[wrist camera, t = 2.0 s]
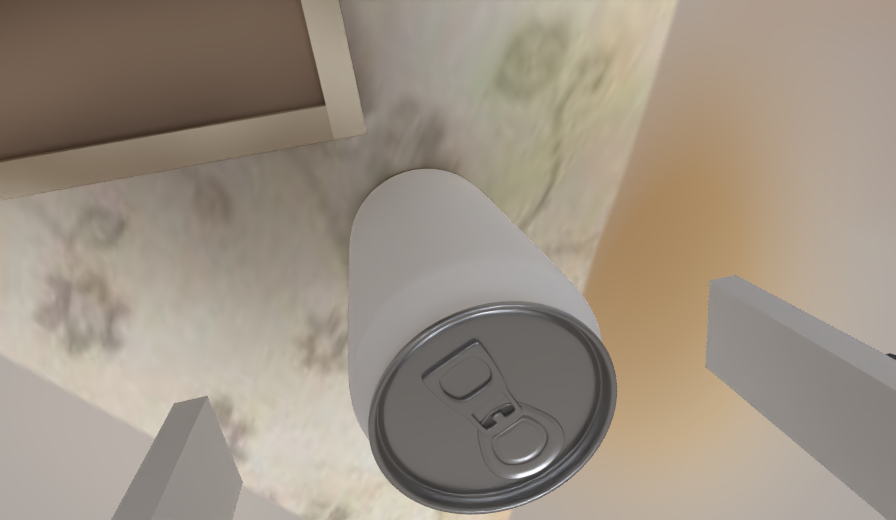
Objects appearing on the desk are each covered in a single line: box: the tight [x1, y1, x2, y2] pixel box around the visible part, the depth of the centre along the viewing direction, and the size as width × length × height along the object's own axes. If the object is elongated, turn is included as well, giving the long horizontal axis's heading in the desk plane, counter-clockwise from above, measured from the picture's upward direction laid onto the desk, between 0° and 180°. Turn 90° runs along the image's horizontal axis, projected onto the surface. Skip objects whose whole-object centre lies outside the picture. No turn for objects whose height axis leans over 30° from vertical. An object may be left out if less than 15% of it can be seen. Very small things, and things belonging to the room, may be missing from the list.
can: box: [348, 169, 617, 514], centre depth 16 cm, size 6×6×12 cm
